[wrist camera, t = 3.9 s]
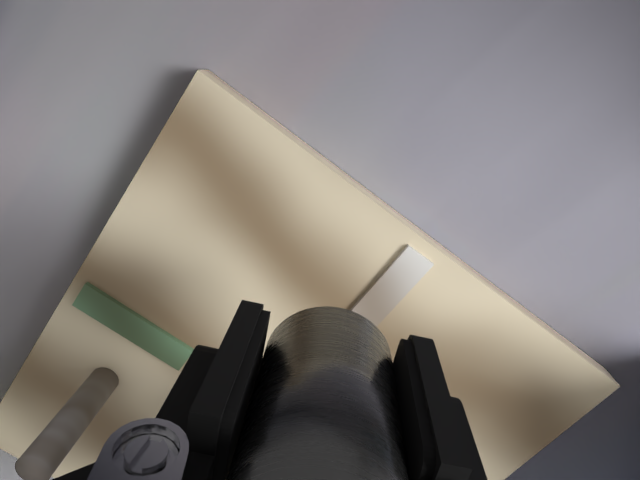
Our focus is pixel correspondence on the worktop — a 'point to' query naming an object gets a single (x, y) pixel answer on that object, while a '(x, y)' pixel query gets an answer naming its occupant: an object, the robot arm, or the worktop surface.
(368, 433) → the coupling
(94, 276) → the post base
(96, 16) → the worktop surface
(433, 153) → the worktop surface
